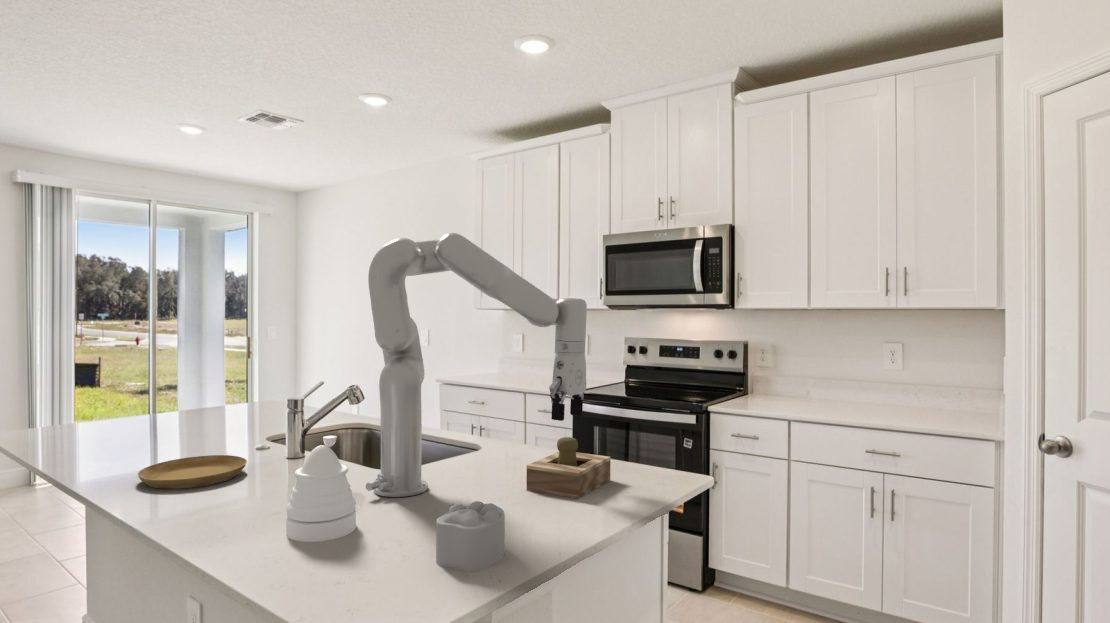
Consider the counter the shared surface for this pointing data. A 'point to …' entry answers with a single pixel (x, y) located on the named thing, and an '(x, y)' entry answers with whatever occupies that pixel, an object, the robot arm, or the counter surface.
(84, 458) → the counter surface
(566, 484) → the drop box
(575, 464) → the cork
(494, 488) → the counter surface
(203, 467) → the plant saucer
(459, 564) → the lumpy-topped squat cylinder
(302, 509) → the honey pot
